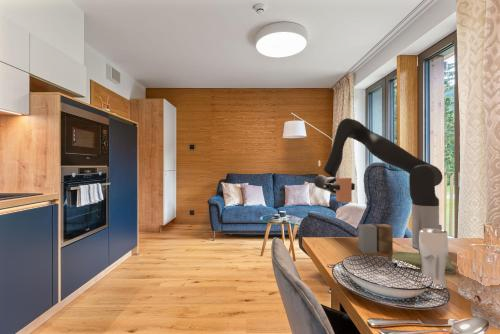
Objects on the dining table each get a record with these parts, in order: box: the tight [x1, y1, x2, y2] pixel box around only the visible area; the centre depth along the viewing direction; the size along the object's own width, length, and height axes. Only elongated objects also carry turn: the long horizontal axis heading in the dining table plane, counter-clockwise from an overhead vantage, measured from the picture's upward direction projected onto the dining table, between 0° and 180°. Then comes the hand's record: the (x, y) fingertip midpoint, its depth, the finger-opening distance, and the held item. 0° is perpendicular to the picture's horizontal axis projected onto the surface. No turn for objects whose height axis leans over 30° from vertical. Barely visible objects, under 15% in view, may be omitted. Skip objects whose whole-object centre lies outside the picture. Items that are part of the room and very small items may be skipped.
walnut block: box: [372, 223, 394, 254], centre depth 108 cm, size 5×5×10 cm
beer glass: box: [418, 228, 449, 288], centre depth 77 cm, size 7×7×15 cm
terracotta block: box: [335, 177, 353, 203], centre depth 120 cm, size 5×5×10 cm
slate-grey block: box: [357, 223, 378, 254], centre depth 108 cm, size 5×5×10 cm
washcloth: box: [390, 251, 457, 275], centre depth 93 cm, size 13×18×3 cm
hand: (345, 187), depth 117 cm, fingers closed on terracotta block, 5 cm apart
